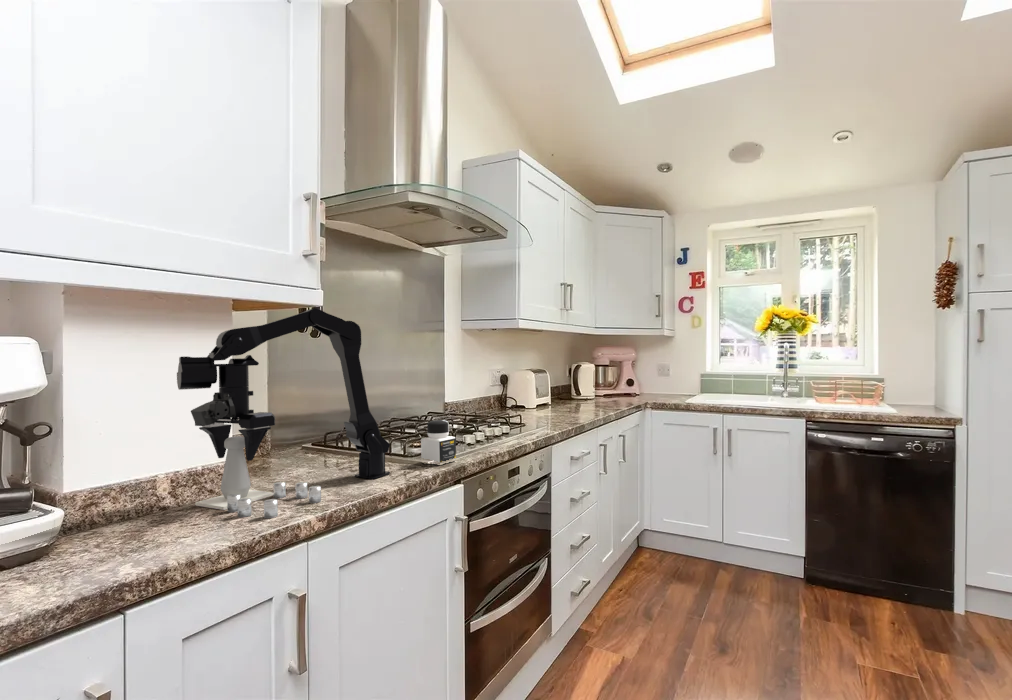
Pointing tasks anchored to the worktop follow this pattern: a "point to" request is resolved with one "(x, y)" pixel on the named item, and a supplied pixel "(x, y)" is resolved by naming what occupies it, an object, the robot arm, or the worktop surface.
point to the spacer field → (272, 504)
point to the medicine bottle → (438, 442)
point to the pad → (222, 502)
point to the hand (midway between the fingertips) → (235, 459)
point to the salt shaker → (235, 468)
